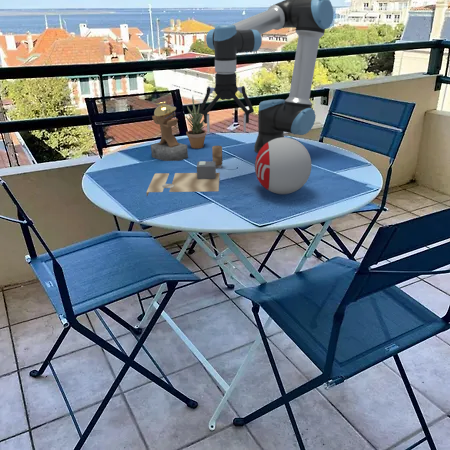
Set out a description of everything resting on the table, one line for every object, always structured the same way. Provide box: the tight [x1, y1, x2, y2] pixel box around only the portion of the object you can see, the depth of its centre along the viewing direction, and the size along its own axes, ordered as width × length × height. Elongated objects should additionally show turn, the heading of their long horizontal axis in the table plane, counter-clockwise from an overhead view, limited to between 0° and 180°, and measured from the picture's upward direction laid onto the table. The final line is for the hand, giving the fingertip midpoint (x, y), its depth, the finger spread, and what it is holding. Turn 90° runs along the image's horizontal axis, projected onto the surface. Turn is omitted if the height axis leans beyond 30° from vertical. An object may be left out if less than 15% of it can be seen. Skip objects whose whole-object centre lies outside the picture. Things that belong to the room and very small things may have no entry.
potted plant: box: [185, 96, 207, 149], centre depth 212 cm, size 10×10×25 cm
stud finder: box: [196, 160, 217, 179], centre depth 175 cm, size 7×6×5 cm
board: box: [145, 172, 221, 197], centre depth 171 cm, size 26×20×2 cm
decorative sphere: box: [254, 136, 312, 195], centre depth 159 cm, size 20×20×20 cm
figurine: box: [150, 101, 189, 162], centre depth 198 cm, size 14×11×25 cm
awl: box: [211, 145, 223, 169], centre depth 184 cm, size 4×4×10 cm
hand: (226, 132), depth 168 cm, fingers open, 13 cm apart
